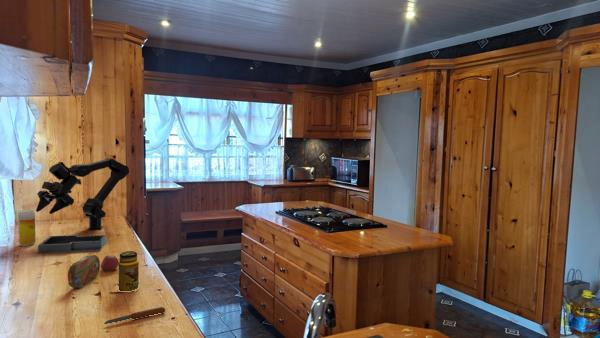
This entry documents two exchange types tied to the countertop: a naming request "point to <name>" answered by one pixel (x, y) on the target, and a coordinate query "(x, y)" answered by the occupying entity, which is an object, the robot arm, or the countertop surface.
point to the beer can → (26, 227)
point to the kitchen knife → (138, 314)
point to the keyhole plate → (72, 244)
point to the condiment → (128, 271)
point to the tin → (83, 271)
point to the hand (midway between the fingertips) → (43, 212)
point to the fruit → (109, 263)
